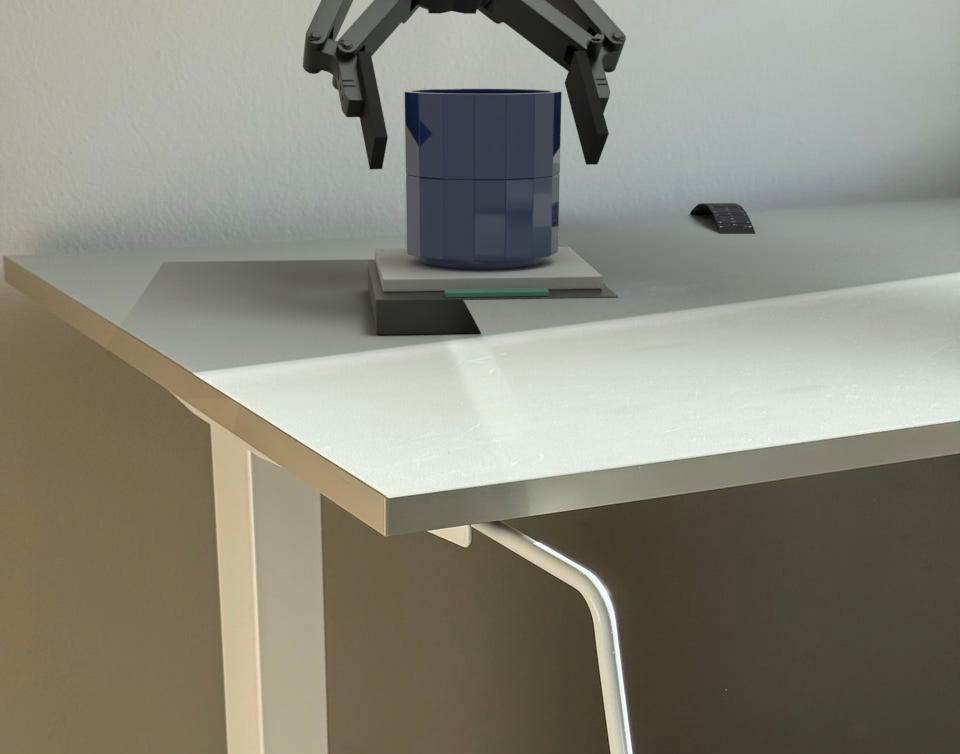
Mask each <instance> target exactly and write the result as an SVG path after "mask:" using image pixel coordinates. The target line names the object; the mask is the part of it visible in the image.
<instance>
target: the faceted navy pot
mask: <svg viewBox="0 0 960 754" xmlns="http://www.w3.org/2000/svg"><path fill="white" fill-rule="evenodd" d="M562 93H563V92H562V91H559V90H554V89H532V88H429V89H428V88H424V89H423V88H422V89H408V90H403V91H402V107H403V108H402V109H403V112H402V113H403V166H404V168H403V170H404V173H403V174H404V217H405V219H404V227H405V229H404V230H405V231H404V233H405V235H404V236H405V248H406V251H407V253H408V254H409V255H413V256H416V257H420V262H421V263H423V264H425V265H428V266H433V267H438V268H446V269H459V270H506V269H519V268H526V267H532V266H536V265H539V264H541V263H542V262H543V258H545V257H550V256H552V255H554V254H555V253H557V252H558V247H559V226H560V225H559V224H560V223H559V222H560V219H559V218H560V181H561V180H560V178H561V177H560V173H561V139H562V137H561V135H562V133H561V131H562Z"/></svg>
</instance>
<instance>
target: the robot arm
mask: <svg viewBox="0 0 960 754" xmlns="http://www.w3.org/2000/svg"><path fill="white" fill-rule="evenodd" d="M353 2H354V0H320V2H319V5H318V7H317V8H316V11H315V12H314V15H313V17H312V19H311V22H310V24H309V26H308V27H307V30H306V32H305V39H304V45H303V46H304V47H303V57H302V67H303V70H304V71H305V72H306V73H308V74H311V75H317V74H319V73H321V72H322V71H324V72H326V73H329V74H331V75H332V80H331V84H332V86H333V88H334V89H335V90H337V91H338V97H339V102H340V106H341V111H342V113H343V115H344V116H345V117H346V118H359V121H360V127H361V132H362V136H363V142H364V147H365V152H366V158H367V163H368V167H369V170H383V166H384V161H385V156H386V149H387V144H388V140H389V139H388V137H389V136H388V131H387V126H386V122H385V116H384V112H383V107H382V101H381V97H380V93H379V92H380V91H379V86H378V82H377V77H376V73H375V72H376V71H375V67H374V62H373V58H372V57H373V56H374V54H375V53H376V52H377V51H378V50H379V49H380V47H382V46H383V44H384V43H385V42H386V41H387V40H388V39H389V37H390V36H391V35H392V34H393V33H394V32H395V31H396V29H397V28H398V27H399V26H400V25H401V24H403V25H404V24H406V23H407V22H408V21H409V19H411V18H412V16H413V15H414V14H415V12H416V11H417V10H418V9H419V8H420V9H421V8H422V9H424V10H427V12H428V14H437V15H438V14H439V15H440V14H445V13H451V12H455V13H458V14H459V13H460V14H464V15H466V14H468V15H469V14H470V15H471V14H472V15H475V14H477V11H479V12H480V13H481V14H483V15H484V16H485V17H486V18H488V19H489V20H490V21H492V22H493V23H494V24H496V25H501V24H502V23H504V24H505V25H506V26H508V27H509V28H511V29H512V30H513V31H514V32H516V33H517V34H518V35H520V36H521V37H522V38H524V39H525V40H526V41H528V42H529V43H530V44H531V45H533V46H534V47H535V48H536V49H538V50H540V51H541V52H542V53H543V54H545V55H546V56H547V57H549V58H550V60H552V61H554V62H555V63H557V64H558V65H559V66H561V67H562V68H563V69H564V70H566V71H567V75H566V78H565V81H564V86H565V89H566V93H567V94H566V95H567V97H568V101H569V105H570V109H571V112H572V113H571V114H572V117H573V120H574V124H575V128H576V132H577V136H578V139H579V144H580V147H581V151H582V155H583V159H584V162H585V165H586V166H587V165H598V164H599V162H600V159H601V156H602V154H603V152H604V148H605V146H606V142H607V140H608V137H609V135H610V132H609V129H608V125H607V122H606V117H605V114H604V113H605V111H606V108H607V105H608V102H609V99H610V96H611V88H610V86H609V83H608V77H607V75H606V73H613V72H614V71H615V70H616V69H617V65H618V63H619V60H620V58H621V55H622V52H623V49H624V46H625V43H626V42H627V41H626V40H627V36H626V34H625V33H624V32H623V31H622V30H621V29H620V28H619V26H618V25H617V24H616V23H615V22H614V21H613V20H612V19H611V17H610V16H609V15H608V14H607V13H606V12H605V11H604V9H602V7H601V6H600V5H599V4H598V2H596V1H595V0H372V1H371V2H370V4H369V5H368V6H367V8H366V9H364V11H363V12H362V13H361V14H360V15H359V16H358V18H356V20H355V21H353V23H352V24H351V25H350V26H349V27H348V28H347V30H346V31H345V32H344V33H343V34H342V35H341V36H340V37H339V38H338V39H337V37H338V35H339V33H340V31H341V29H342V27H343V24H344V22H345V20H346V17H347V15H348V13H349V11H350V8H351V6H352V4H353Z"/></svg>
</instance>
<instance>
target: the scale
mask: <svg viewBox="0 0 960 754" xmlns="http://www.w3.org/2000/svg"><path fill="white" fill-rule="evenodd" d="M366 261H367V262H366V263H367V265H366V266H367V292H368V296H369V302H370V306H371V307H370V308H371V312H372V317H373V323H374V327H375V332H376V335H377V336H391V335H393V336H394V335H395V336H396V335H452V334H453V335H455V334H457V335H458V334H462V335H463V334H482V332H481V330H480V328H479V327H478V324H477V323H476V321H475V319H474V317H473V315H472V313H471V311H470V310H469V307H468V306H467V304H466V302H465V301H478V300H479V301H486V300H487V301H489V300H491V301H493V300H494V301H495V300H556V299H557V300H558V299H559V300H562V299H563V300H564V299H618V298H619V296H618V295H617V294H616V293H615V292H614V291H612V289H611V288H609V287H608V286H607V285H606V284H605V283H604V282H603V279H604V278H603V275H602V274H601V273H599V272H598V270H596V269H595V268H594V267H592V266H591V265H590V264H589V263H588V262H587V261H585V260H584V259H583V258H582V257H581V256H580V255H579V254H578V253H576V252H575V251H574V250H573V249H572V248H570V247H569V246H558V252H557V253H555V254H554V255H552V256H550V257H545V258H543V262H542V263H541V264H539V265H536V266H532V267H526V268H519V269H506V270H459V269H446V268H438V267H433V266H428V265H425V264H423V263H421V262H420V257H416V256H413V255H409V254H408V253H407V251H406V247H404V248H403V247H402V248H375V249H374V259H367V260H366Z"/></svg>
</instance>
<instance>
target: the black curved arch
mask: <svg viewBox="0 0 960 754" xmlns="http://www.w3.org/2000/svg"><path fill="white" fill-rule="evenodd" d="M689 215H705V220H707V216H708V215H711V216H712V219H711V223H712V224H714V219H715V222H716V224H717V229H718V231H719V234H720V235H755V234H756V231H755V228H754V226H753V223H752V221H751V219H750V217H749V215H748V213H747V211H746V210H745V209H744V207H743V206H741V205H740V204H738V203H736V202H727V203H726V202H718V203H717V202H716V203H715V202H713V203H712V202H707V203H706V202H703V203H698V204H697V205H695V206H694V207H693V208H692V209H691V210H690V213H689Z"/></svg>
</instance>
